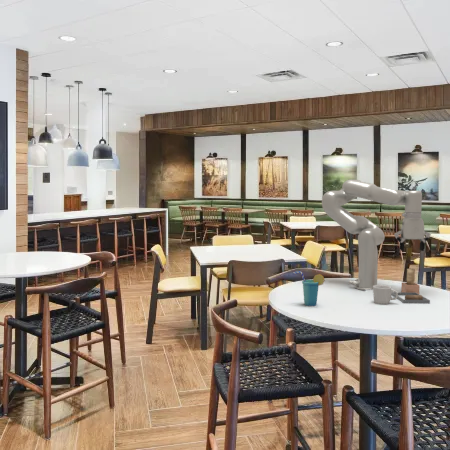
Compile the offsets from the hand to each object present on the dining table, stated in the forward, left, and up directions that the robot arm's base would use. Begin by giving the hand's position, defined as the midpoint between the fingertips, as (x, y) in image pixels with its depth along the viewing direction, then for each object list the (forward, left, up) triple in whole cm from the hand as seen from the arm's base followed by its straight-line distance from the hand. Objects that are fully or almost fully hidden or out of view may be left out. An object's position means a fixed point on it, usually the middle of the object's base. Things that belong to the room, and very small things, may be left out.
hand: (411, 250), depth 229 cm
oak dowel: (0, 0, -21) cm, 21 cm away
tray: (-5, -12, -22) cm, 26 cm away
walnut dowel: (-5, -17, -21) cm, 28 cm away
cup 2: (-19, -20, -22) cm, 36 cm away
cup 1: (-54, -22, -22) cm, 62 cm away
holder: (0, 0, -22) cm, 22 cm away
